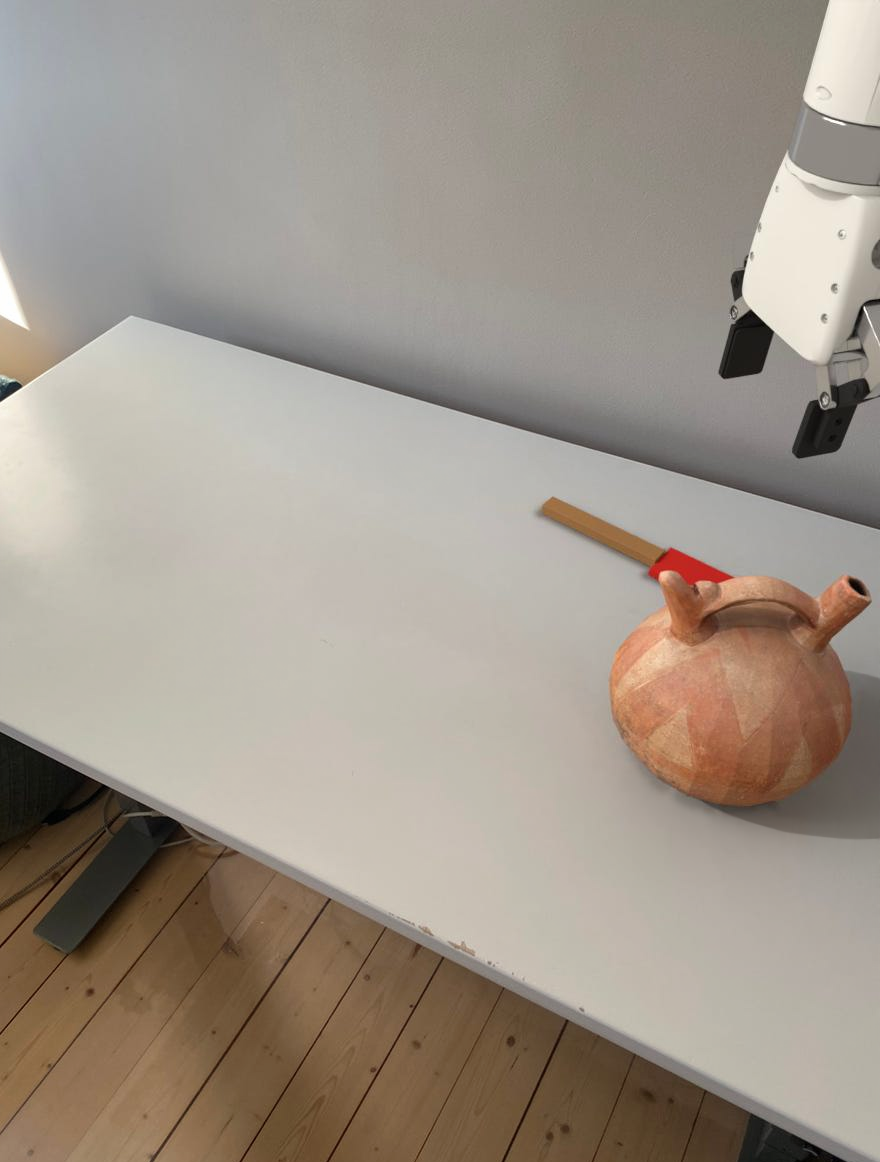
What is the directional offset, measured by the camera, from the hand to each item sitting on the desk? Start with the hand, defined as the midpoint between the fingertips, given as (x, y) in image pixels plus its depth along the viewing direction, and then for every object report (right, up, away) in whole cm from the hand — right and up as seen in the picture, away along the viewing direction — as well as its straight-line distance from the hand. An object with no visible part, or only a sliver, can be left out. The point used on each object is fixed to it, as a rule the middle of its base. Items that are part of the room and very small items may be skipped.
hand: (775, 411), depth 63 cm
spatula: (-1, -6, +34) cm, 35 cm away
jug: (+1, -25, +17) cm, 30 cm away
